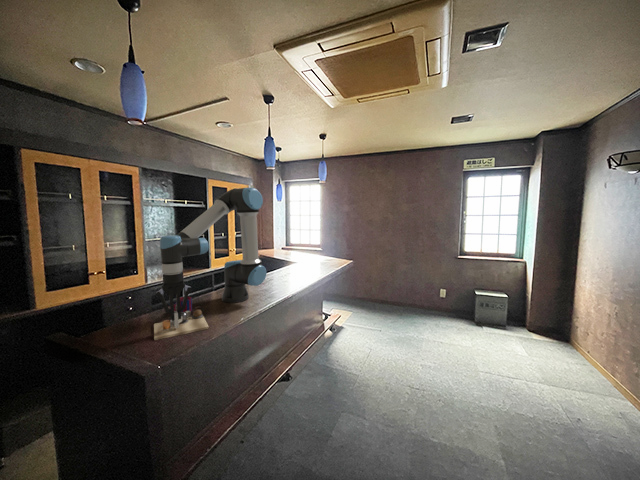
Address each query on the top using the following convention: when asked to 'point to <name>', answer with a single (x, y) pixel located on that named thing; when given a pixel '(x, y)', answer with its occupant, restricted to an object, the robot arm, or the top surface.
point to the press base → (182, 326)
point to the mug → (188, 304)
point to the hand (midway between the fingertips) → (176, 326)
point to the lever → (169, 323)
